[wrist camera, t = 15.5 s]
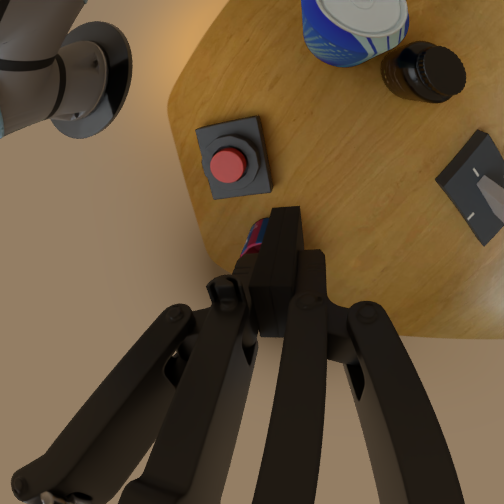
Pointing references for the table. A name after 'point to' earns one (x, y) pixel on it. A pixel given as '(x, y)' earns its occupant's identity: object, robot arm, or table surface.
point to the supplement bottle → (423, 72)
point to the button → (228, 165)
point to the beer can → (353, 28)
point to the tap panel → (474, 184)
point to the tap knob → (493, 196)
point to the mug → (255, 237)
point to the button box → (249, 144)
